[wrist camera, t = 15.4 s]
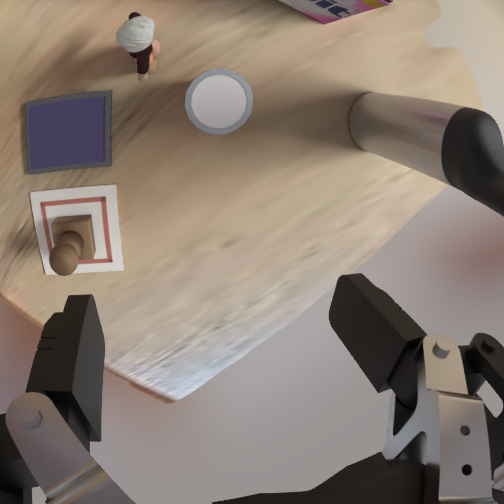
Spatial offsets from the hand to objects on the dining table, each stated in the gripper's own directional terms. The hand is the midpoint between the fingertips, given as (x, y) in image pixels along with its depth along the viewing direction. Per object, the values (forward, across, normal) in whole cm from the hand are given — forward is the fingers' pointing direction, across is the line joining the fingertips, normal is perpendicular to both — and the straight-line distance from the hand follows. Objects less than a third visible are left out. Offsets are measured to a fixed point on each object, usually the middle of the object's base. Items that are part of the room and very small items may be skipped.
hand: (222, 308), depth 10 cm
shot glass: (+30, -4, -6) cm, 31 cm away
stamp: (+30, +13, +10) cm, 34 cm away
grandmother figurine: (+30, +4, -12) cm, 33 cm away
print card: (+30, +13, +10) cm, 34 cm away
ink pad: (+30, +13, -3) cm, 33 cm away
